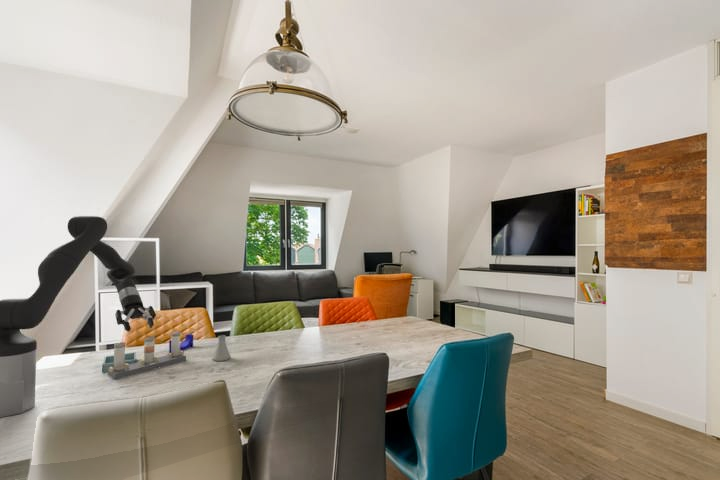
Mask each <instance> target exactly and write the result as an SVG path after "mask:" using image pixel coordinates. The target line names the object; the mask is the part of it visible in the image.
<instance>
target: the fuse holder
mask: <svg viewBox="0 0 720 480" xmlns="http://www.w3.org/2000/svg"><path fill="white" fill-rule="evenodd" d="M186 360H187V356H186V355H185V354H184V350H182V351H181V350H180V356H178V357H172V354H171V353H167V355H166V354H165V355H162V356H156V355H154V362H153V363H150V364H144V359H140V361H136V363H132V364H127V363H125V369H124V370H122V371H114V368H112V367H109V369H108V372H106V373H107V375H108V377H110V378H112V379H114V380H119V379H122V378H126V377H129V376H133V375H136V374H137V375H138V374H141V373H145V372H148V371H152V370H156V369H160V368H164V367H167V366H171V365H175V364H178V363H182V362H185V361H186ZM159 367H160V368H159Z"/></svg>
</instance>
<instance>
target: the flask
mask: <svg viewBox="0 0 720 480" xmlns="http://www.w3.org/2000/svg"><path fill="white" fill-rule="evenodd" d="M217 338H218V342H217V346H216V349H215V351H214V354H213V356H212V361H214V362H223V361H227V360H229V359H231V358H232V356H231V353H230V352H229V350H228V349H229V348H228V346H227V342H226V338H227V336H226V335H223V334H222V335H218V336H217Z"/></svg>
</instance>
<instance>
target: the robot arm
mask: <svg viewBox="0 0 720 480" xmlns="http://www.w3.org/2000/svg"><path fill="white" fill-rule="evenodd" d="M107 229H108V222H107V220H106V219H105V218H104V217H101V216H96V215H76V216H72V217H71V218H70V219H69V220H68V222H67V231H68V233H69V235H70V236H71V237H72V238H73V239H72V240H71V241H68V242H66V243H64V244H61V245H60V246H58V247H56V248H54V249H53V250H51V251H50V252H49V253H48V254H47V255H46V257H44V259H42V261H41V262H40V264H39V265H38V269H37V277H38V281H39V285H38V287H37V288H36V290H35V291H34V293H33V294H32V295H31V296H29V297H28V298H27V297H26V298H4V299H0V418H3V417H9V416H13V415H18V414H23V413H25V412H26V411H28V410H30V409H32V408H33V407H35V406H36V379H37V378H36V376H37V375H36V373H37V372H36V371H37V354H38V353H37V347H38V346H37V345H38V343H37V340H36V339H35V338H31V337H29V336H27V335H25V334H23V332H22V331H21V330H30V329H34V328H36V327H38V326H39V325H40V324H41V323H42V321H43V320H44V319H45V317H46V316H47V314H48V313H49V311H50V310H51V307H52V305H53V304H54V303H55V300H56V298H57V296H58V295H59V294H60V292H61V291H62V289H63V288H64V286H65V285H66V283H67V282H68V281H69V280H70V278H71V277H72V276H73V274H74V273H75V272H76V270H77V269H78V268H79V266H80V265H81V263H82V262H83V260H84V259H85V258H86V256H87V255H88V254H89V253H90V252H91V253H92V254H93V255H94V256H96V258H97V259H98V260H99V261H100V262H101V264H102V265H103V266H104V267H105V269H107V271H106V276H107V278H108V279H109V281H111V282H112V283H113V285H114V287H115V288H116V291H117V294H118V299H119V302H120V305H121V308H122V310H120V309H117V310H116V312H115V319H116V324H117V325H118V326H120V325H123V327H124V331H126V332H131V330H132V327H131V325H130V322H129V321H130V319H131V320H136V319H143V320H145V321H147V324H148V327H149V329H152V328H153V327H154V324H155V322H154V320H155V319H156V317H157V314H156V312H155V309H154V307H153V306H152V305H150V306H147V307H145V306H144V303H143V300H142V297H141V295H140V292H139V291H138V289H137V287H136V284H135V280H133V279H132V278H131V277H132V276H134V275H135V272H136V269H135V267H134V266H133V265H132V264H131V263H130V262H128V261H126V260H125V259H123V258H122V257H121V255H120V254H119V253H118V251H117V250H116V249H115V248H114V247H112V246H111V245H109V244H107V243H106V242H104V241H102V240H103V238H104V237H105V235H106V233H107ZM123 315H124V317H125V316H126V317H125V318H124V319H123V317H122V316H123Z"/></svg>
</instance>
